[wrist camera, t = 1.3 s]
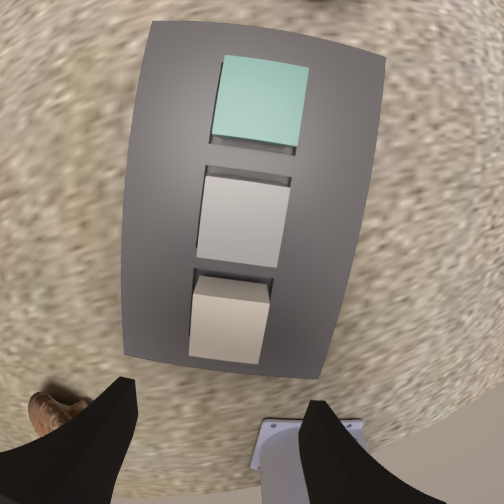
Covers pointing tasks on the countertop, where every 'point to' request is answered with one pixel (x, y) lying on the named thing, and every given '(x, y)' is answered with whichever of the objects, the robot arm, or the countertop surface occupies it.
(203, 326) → the ivory key
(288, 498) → the robot arm
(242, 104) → the teal key
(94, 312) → the countertop surface
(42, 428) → the mushroom
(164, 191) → the keypad
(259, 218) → the grey key
